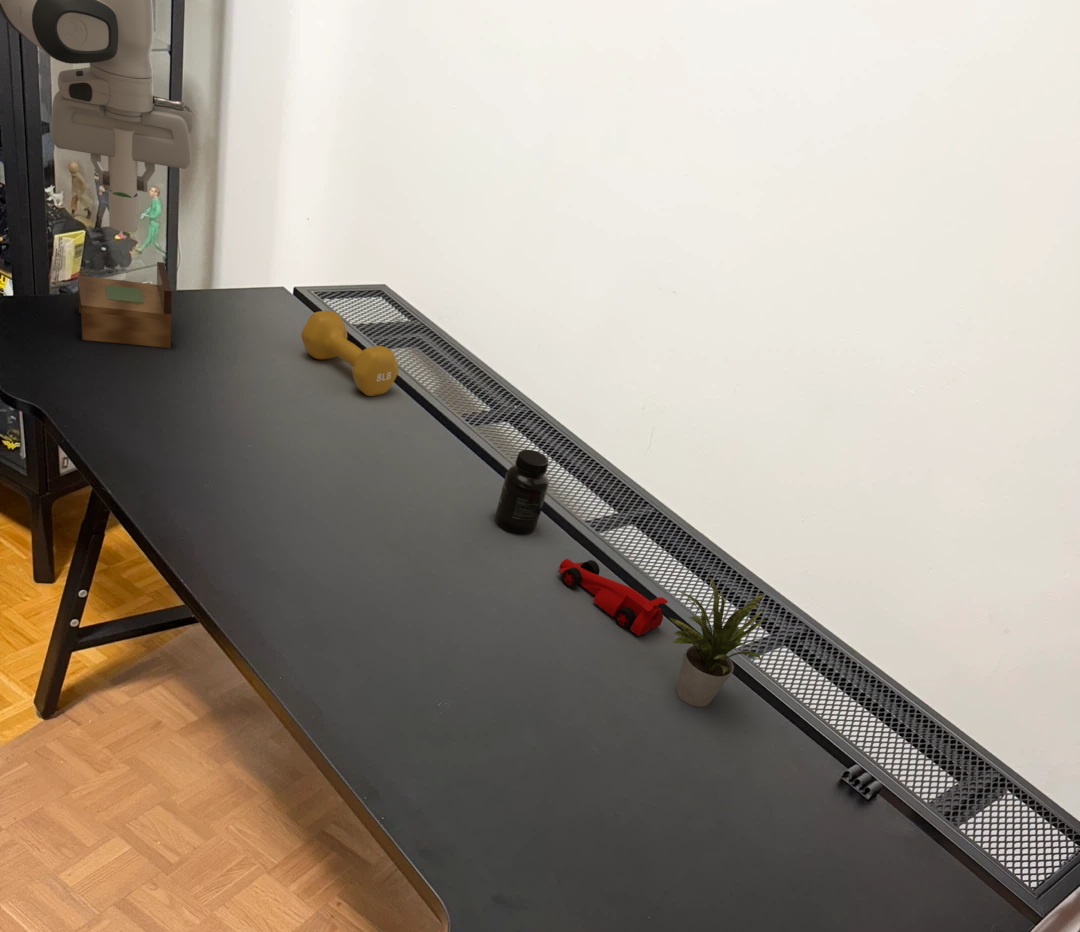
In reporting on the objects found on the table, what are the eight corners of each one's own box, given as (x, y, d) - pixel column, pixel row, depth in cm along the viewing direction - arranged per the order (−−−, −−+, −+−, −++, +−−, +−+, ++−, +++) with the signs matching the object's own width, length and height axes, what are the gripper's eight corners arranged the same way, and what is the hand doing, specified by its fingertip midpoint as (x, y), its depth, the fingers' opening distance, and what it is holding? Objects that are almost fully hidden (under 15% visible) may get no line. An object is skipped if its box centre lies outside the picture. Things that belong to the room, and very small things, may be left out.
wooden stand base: (82, 340, 171) (80, 280, 164) (78, 309, 178) (76, 251, 172) (170, 348, 176) (171, 291, 170) (163, 318, 184) (164, 262, 178)
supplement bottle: (494, 508, 165) (511, 442, 157) (534, 517, 166) (554, 451, 159) (494, 530, 160) (512, 463, 152) (536, 539, 161) (556, 473, 153)
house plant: (679, 644, 150) (719, 552, 139) (757, 695, 145) (805, 604, 135) (628, 681, 140) (668, 585, 129) (711, 737, 136) (759, 642, 125)
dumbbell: (398, 394, 186) (406, 352, 181) (360, 401, 180) (367, 358, 175) (333, 348, 193) (339, 305, 188) (294, 353, 187) (299, 310, 182)
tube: (103, 222, 165) (101, 121, 155) (125, 220, 168) (124, 120, 159) (121, 233, 164) (120, 131, 154) (143, 230, 167) (143, 131, 157)
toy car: (574, 564, 159) (583, 537, 155) (660, 627, 152) (671, 600, 149) (549, 574, 155) (558, 547, 151) (636, 639, 148) (647, 612, 145)
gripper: (191, 98, 160) (188, 191, 169) (47, 70, 151) (52, 169, 160) (196, 110, 156) (193, 204, 164) (48, 82, 147) (53, 183, 156)
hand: (122, 187), depth 162 cm, fingers closed on tube, 4 cm apart
